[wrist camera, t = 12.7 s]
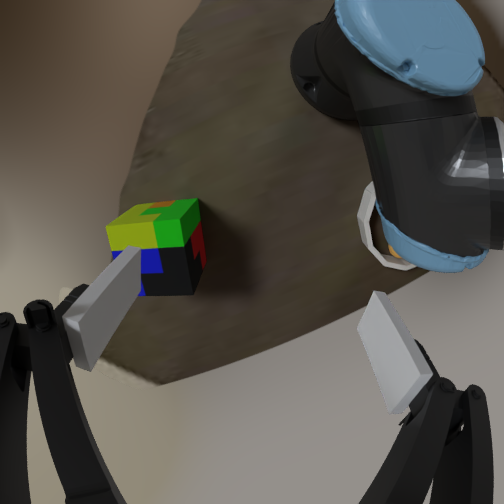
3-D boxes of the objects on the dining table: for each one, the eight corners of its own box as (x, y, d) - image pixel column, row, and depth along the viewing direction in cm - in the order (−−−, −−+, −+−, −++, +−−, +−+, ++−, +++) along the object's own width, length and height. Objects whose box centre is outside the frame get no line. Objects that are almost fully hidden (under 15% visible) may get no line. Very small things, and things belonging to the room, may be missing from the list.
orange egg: (389, 226, 41) (399, 235, 37) (409, 232, 41) (420, 241, 38) (381, 249, 43) (390, 260, 39) (400, 254, 43) (411, 264, 39)
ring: (374, 151, 36) (382, 153, 34) (453, 182, 37) (463, 186, 34) (345, 251, 43) (351, 259, 40) (423, 267, 44) (431, 275, 41)
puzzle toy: (148, 263, 45) (124, 295, 36) (136, 204, 41) (105, 226, 32) (206, 260, 44) (193, 295, 35) (197, 198, 40) (179, 219, 31)
